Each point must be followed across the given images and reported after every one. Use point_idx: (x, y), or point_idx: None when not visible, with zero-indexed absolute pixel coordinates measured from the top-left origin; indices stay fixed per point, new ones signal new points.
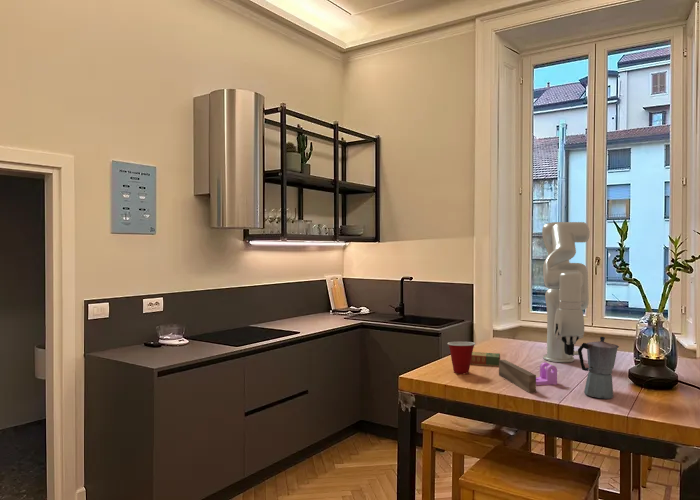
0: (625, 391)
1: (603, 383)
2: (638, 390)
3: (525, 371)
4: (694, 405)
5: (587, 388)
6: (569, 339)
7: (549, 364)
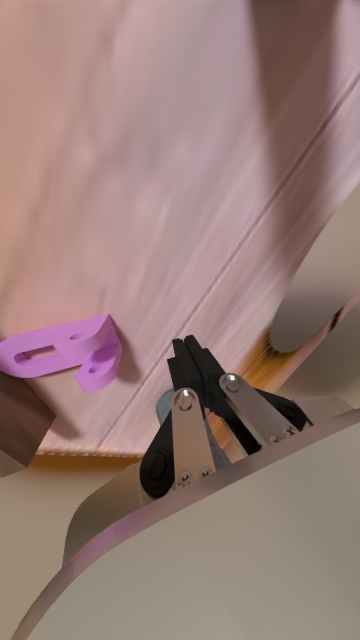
0: (229, 371)
1: None
2: (251, 362)
3: None
4: None
5: (159, 421)
6: (231, 407)
7: (93, 350)
